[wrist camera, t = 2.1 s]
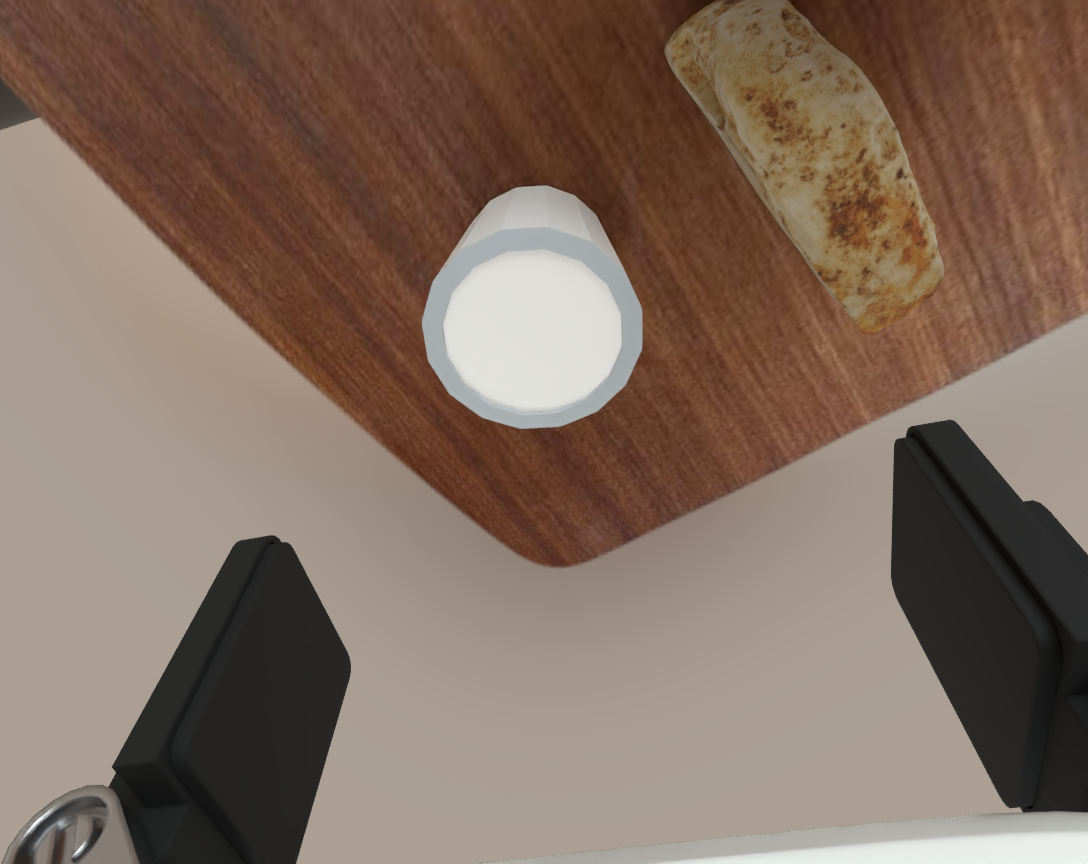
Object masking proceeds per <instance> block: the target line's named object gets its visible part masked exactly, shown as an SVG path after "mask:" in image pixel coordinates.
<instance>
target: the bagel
mask: <svg viewBox="0 0 1088 864" xmlns="http://www.w3.org/2000/svg"><path fill="white" fill-rule="evenodd" d="M664 53H665V55H666V58H667V61H668V64H669V66H670V67H671V69H672V71H673V72H674V74H675V75H676V77H677V78H678V80H679V81H680V82H681V84H682V85H683V86H684V88H685V89H686V90H687V92H688V93H689V94H690V96H691V97H692V98H693V100H694V101H695V102H696V104H697V105H698V106H699V108H700V109H701V111H702V112H703V113H704V115H705V116H706V117H707V119H708V120H709V121H710V123H711V124H712V125H713V126H714V128H715V129H716V131H717V132H718V134H719V135H720V137H721V139H722V140H723V142H724V143H725V145H726V146H727V148H728V149H729V151H730V152H731V154H732V155H733V157H734V158H735V160H736V162H737V163H738V165H739V166H740V168H741V169H742V171H743V172H744V174H745V175H746V177H747V179H748V181H749V182H750V184H751V185H752V186H753V188H754V189H755V191H756V192H757V194H758V196H759V197H760V199H761V200H762V201H763V203H764V204H765V205H766V206H767V208H768V209H769V211H770V212H771V214H772V216H773V217H774V219H775V220H776V222H777V223H778V224H779V226H780V227H781V228H782V230H783V231H784V232H785V233H786V235H787V236H788V237H789V239H790V240H791V242H793V243H794V245H795V246H796V247H797V248H798V250H799V251H800V252H801V254H802V255H803V257H804V258H805V260H806V261H807V263H808V265H809V266H810V268H811V269H812V271H813V272H814V274H815V275H816V276H817V278H818V279H819V281H820V282H821V283H822V284H823V285H824V287H825V288H826V290H827V291H828V293H829V294H830V295H831V296H832V297H833V299H834V300H835V301H836V302H837V303H839V304H840V305H841V306H842V308H843V309H844V311H845V312H846V313H847V314H848V316H849V317H850V318H851V320H852V321H853V322H854V324H855V325H856V326H857V327H858V329H859V330H860V331H861V332H862V333H864V334H866V335H873V334H875V333H876V332H878V331H880V330H882V329H883V328H885V327H887V326H889V325H891V324H892V323H894V322H896V321H897V320H899V319H901V318H902V317H904V316H905V315H907V314H908V313H910V312H911V311H912V310H914V309H915V308H917V307H918V306H919V305H921V304H922V303H923V302H925V301H926V300H927V299H929V298H930V297H931V296H932V295H933V294H934V292H936V289H937V286H938V285H939V284H940V283H941V281H942V280H943V275H944V265H943V262H942V260H941V257H940V255H939V252H938V249H937V245H938V243H937V239H936V236H935V225H934V223H933V222H932V221H931V219H930V217H929V215H928V212H927V210H926V208H925V206H924V204H923V202H922V199H921V195H920V191H919V188H918V186H917V183H916V181H915V179H914V176H913V174H912V172H911V170H910V166H909V162H908V158H907V155H906V153H905V150H904V148H903V145H902V142H901V139H900V136H899V132H898V129H897V127H896V126H895V124H894V122H893V121H892V119H891V117H890V115H889V113H888V111H887V109H886V107H885V105H884V103H883V102H882V100H881V98H880V96H879V94H878V93H877V91H876V90H875V88H874V87H873V85H872V84H871V83H870V81H869V80H868V79H867V77H866V76H865V75H864V73H863V72H862V71H861V69H860V68H859V67H858V66H857V65H856V64H855V63H854V62H853V61H852V60H851V59H850V58H849V57H848V56H847V55H845V54H843V53H842V52H840V51H838V50H837V49H836V48H835V47H834V46H833V45H832V44H830V43H829V42H828V41H827V40H826V38H825V37H822V36H821V35H820V34H819V33H818V31H817V30H816V29H815V28H814V27H813V26H812V24H811V23H810V22H809V20H808V19H807V18H805V17H804V16H803V15H802V14H800V13H799V12H798V11H797V10H796V9H795V8H794V7H793V6H792V4H791V3H790V2H789V1H788V0H716V1H714V2H713V3H711V4H709V5H708V6H706V7H704V8H703V9H702V10H700V11H699V12H697V13H696V14H694V15H693V16H692V17H690V18H689V19H688V20H687V21H686V22H684V23H683V24H682V25H681V26H680V27H679V28H678V29H677V30H676V31H675V32H674V33H673V35H672V36H671V38H670V39H669V40H668V42H667V43H666V45H665V49H664Z"/></svg>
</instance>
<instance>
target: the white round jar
mask: <svg viewBox="0 0 1088 864" xmlns="http://www.w3.org/2000/svg"><path fill="white" fill-rule="evenodd" d="M422 327H423V333H424V339H425V345H426V351H427V357H428V361H429V363H430V365H431V366H432V368H433V369H434V371H435V372H436V374H437V375H438V377H439V379H440V380H441V382H442V383H443V385H444V386H445V388H446V390H447V391H448V393H449V394H450V395H451V396H453V397H454V398H455V399H457V400H458V401H460V402H461V403H462V404H464V405H465V406H467V407H468V408H469V409H471V410H472V411H473V412H475V413H476V414H478V415H479V416H480V417H482V418H485V419H489V420H492V421H495V422H499V423H502V424H506V425H509V426H513V427H516V428H520V429H525V428H544V427H561V426H563V425H566V424H568V423H571V422H573V421H575V420H578V419H580V418H583V417H585V416H588V415H590V414H592V413H595V412H597V411H598V410H599V409H601V408H602V407H603V406H604V405H605V404H606V403H607V402H608V401H609V400H610V399H611V398H612V397H613V396H614V395H616V394H617V393H618V392H619V391H620V390H621V389H622V388H623V387H624V386H625V385H626V384H627V381H628V379H629V377H630V375H631V373H632V370H633V368H634V366H635V364H636V362H637V359H638V357H639V355H640V353H641V351H642V307H641V305H640V303H639V301H638V299H637V296H636V294H635V292H634V290H633V288H632V285H631V283H630V281H629V279H628V277H627V274H626V272H625V270H624V268H623V266H622V264H621V262H620V260H619V258H618V256H617V254H616V253H615V251H614V249H613V247H612V245H611V243H610V241H609V239H608V237H607V235H606V233H605V231H604V229H603V227H602V225H601V223H600V221H599V219H598V217H597V215H596V214H595V213H594V212H593V211H591V210H590V209H589V208H588V207H587V206H586V205H585V204H584V203H583V202H582V201H580V200H579V199H578V198H577V197H576V196H575V195H573V194H570V193H567V192H564V191H561V190H558V189H555V188H552V187H550V186H547V185H544V186H529V187H516V188H514V189H512V190H510V191H508V192H506V193H504V194H502V195H500V196H498V197H496V198H494V199H492V200H490V201H489V202H488V204H487V205H486V206H485V207H484V208H483V210H482V211H481V212H480V213H479V214H478V216H477V217H476V218H475V219H474V220H473V222H472V223H471V224H470V226H469V227H468V229H467V230H466V232H465V234H464V235H463V237H462V238H461V240H460V241H459V243H458V244H457V246H456V247H455V249H454V250H453V252H452V253H451V255H450V257H449V258H448V260H447V261H446V263H445V264H444V266H443V267H442V269H441V270H440V272H439V273H438V275H437V276H436V278H435V279H434V281H433V283H432V286H431V290H430V293H429V297H428V301H427V304H426V308H425V312H424V315H423V319H422Z"/></svg>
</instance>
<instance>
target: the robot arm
mask: <svg viewBox="0 0 1088 864" xmlns="http://www.w3.org/2000/svg"><path fill="white" fill-rule="evenodd" d="M891 554H892V555H891V579H892V585H893V589H894V592H895V595H896V598H897V600H898V602H899V604H900V606H901V608H902V610H903V611H904V613H905V615H906V617H907V619H908V621H909V623H910V625H911V627H912V629H913V631H914V633H915V634H916V636H917V638H918V640H919V642H920V644H921V646H922V648H923V650H924V652H925V654H926V656H927V658H928V660H929V661H930V663H931V665H932V667H933V669H934V671H935V673H936V675H937V677H938V679H939V681H940V683H941V684H942V686H943V688H944V690H945V692H946V694H947V696H948V698H949V700H950V702H951V704H952V706H953V707H954V710H955V711H956V713H957V715H958V717H959V719H960V721H961V723H962V725H963V727H964V729H965V731H966V733H967V735H968V736H969V738H970V740H971V742H972V744H973V746H974V748H975V750H976V752H977V753H978V756H979V758H980V760H981V761H982V763H983V765H984V767H985V769H986V771H987V773H988V775H989V777H990V779H991V780H992V783H993V784H994V786H995V788H996V790H997V792H998V794H999V796H1000V797H1001V799H1002V801H1003V802H1004V803H1005V805H1006V806H1007V807H1009V808H1017V807H1020V808H1021V809H1022V812H1023V813H998V814H997V813H996V814H979V815H967V816H956V817H944V818H931V819H919V820H907V821H895V822H882V823H870V824H858V825H848V826H838V827H827V828H818V829H808V830H797V831H787V832H777V833H767V834H757V835H747V836H737V837H726V838H716V839H706V840H696V841H687V842H676V843H666V844H656V845H647V846H637V847H628V848H618V849H608V850H600V851H589V852H579V853H569V854H560V855H551V856H541V857H532V858H523V859H512V860H503V861H493V862H484V863H474V864H1088V555H1087V553H1086V552H1085V551H1084V550H1083V549H1082V548H1081V547H1080V545H1079V544H1078V543H1077V542H1076V541H1075V540H1074V539H1073V538H1072V536H1071V535H1070V534H1069V533H1068V532H1067V531H1066V529H1065V528H1064V527H1063V526H1062V525H1061V524H1060V523H1059V521H1058V520H1057V519H1056V518H1055V517H1054V516H1053V515H1052V513H1051V512H1050V511H1049V510H1048V509H1047V508H1045V507H1044V506H1043V505H1042V504H1041V503H1039V502H1036V501H1026V502H1023V501H1022V500H1021V498H1020V497H1019V496H1018V495H1017V494H1016V493H1015V492H1014V490H1013V489H1012V488H1011V487H1010V486H1009V484H1008V483H1007V482H1006V481H1005V480H1004V478H1003V477H1002V476H1001V475H1000V474H999V473H998V471H997V470H996V469H995V468H994V466H993V465H992V464H991V463H990V462H989V460H988V459H987V458H986V457H985V456H984V455H983V453H982V452H981V451H980V450H979V449H978V447H977V446H976V445H975V444H974V443H973V442H972V440H971V439H970V438H969V437H968V435H967V434H966V433H965V432H964V431H963V430H962V428H961V427H960V426H959V425H958V424H957V423H956V422H955V421H953V420H946V421H940V422H934V423H928V424H922V425H917V426H911V427H910V428H908V431H907V434H906V438H900V439H897V440H896V441H895V445H894V473H893V514H892V553H891ZM350 673H351V664H350V658H349V655H348V652H347V650H346V648H345V647H344V645H343V643H342V641H341V639H340V637H339V635H338V633H337V631H336V629H335V628H334V626H333V624H332V622H331V620H330V618H329V616H328V614H327V612H326V610H325V608H324V607H323V605H322V603H321V601H320V599H319V597H318V595H317V593H316V591H315V589H314V587H313V586H312V584H311V582H310V580H309V578H308V576H307V574H306V572H305V570H304V569H303V566H302V565H301V563H300V561H299V559H298V557H297V555H296V553H295V551H294V549H293V548H292V546H291V545H290V544H289V543H286V542H283V543H282V542H281V541H280V539H279V538H277V537H276V536H265V537H259V538H253V539H247V540H241V541H239V542H237V543H236V544H235V545H234V546H233V547H232V549H231V551H230V553H229V555H228V557H227V558H226V560H225V562H224V564H223V566H222V567H221V569H220V571H219V573H218V575H217V577H216V579H215V580H214V582H213V584H212V586H211V588H210V589H209V591H208V593H207V595H206V597H205V599H204V600H203V602H202V604H201V606H200V608H199V609H198V611H197V613H196V615H195V617H194V619H193V620H192V622H191V624H190V626H189V628H188V630H187V631H186V633H185V635H184V637H183V639H182V640H181V642H180V644H179V646H178V648H177V649H176V651H175V653H174V655H173V657H172V659H171V660H170V662H169V664H168V666H167V668H166V670H165V671H164V673H163V675H162V677H161V679H160V681H159V682H158V684H157V686H156V688H155V689H154V691H153V693H152V695H151V697H150V699H149V701H148V702H147V704H146V706H145V708H144V709H143V711H142V713H141V715H140V717H139V719H138V721H137V722H136V724H135V726H134V728H133V730H132V731H131V733H130V735H129V737H128V739H127V740H126V742H125V744H124V746H123V748H122V750H121V751H120V753H119V755H118V757H117V759H116V760H115V762H114V764H113V766H112V768H113V769H114V770H115V772H116V774H115V776H114V778H113V780H112V782H111V783H110V785H109V787H106V786H103V785H91V786H90V785H89V786H88V785H87V786H84V787H81V788H78V789H75V790H72V791H70V792H68V793H66V794H64V795H62V796H61V797H59V798H57V799H55V800H53V801H52V802H51V803H49V804H48V805H47V806H46V807H44V808H43V809H42V810H40V811H39V812H38V813H37V814H35V815H34V816H33V817H32V818H31V820H30V821H29V822H28V823H27V824H26V825H25V826H24V827H23V828H22V829H21V830H20V831H19V833H18V834H17V836H16V837H15V839H14V840H13V841H12V843H11V844H10V846H9V847H8V849H7V851H6V854H5V856H4V858H3V861H2V863H1V864H296V862H297V858H298V855H299V851H300V848H301V844H302V841H303V837H304V834H305V830H306V827H307V823H308V820H309V817H310V813H311V810H312V806H313V803H314V799H315V796H316V792H317V789H318V785H319V782H320V779H321V775H322V772H323V768H324V765H325V761H326V758H327V754H328V751H329V747H330V744H331V741H332V737H333V734H334V730H335V727H336V723H337V720H338V716H339V713H340V710H341V706H342V703H343V699H344V696H345V692H346V688H347V685H348V682H349V678H350Z"/></svg>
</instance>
